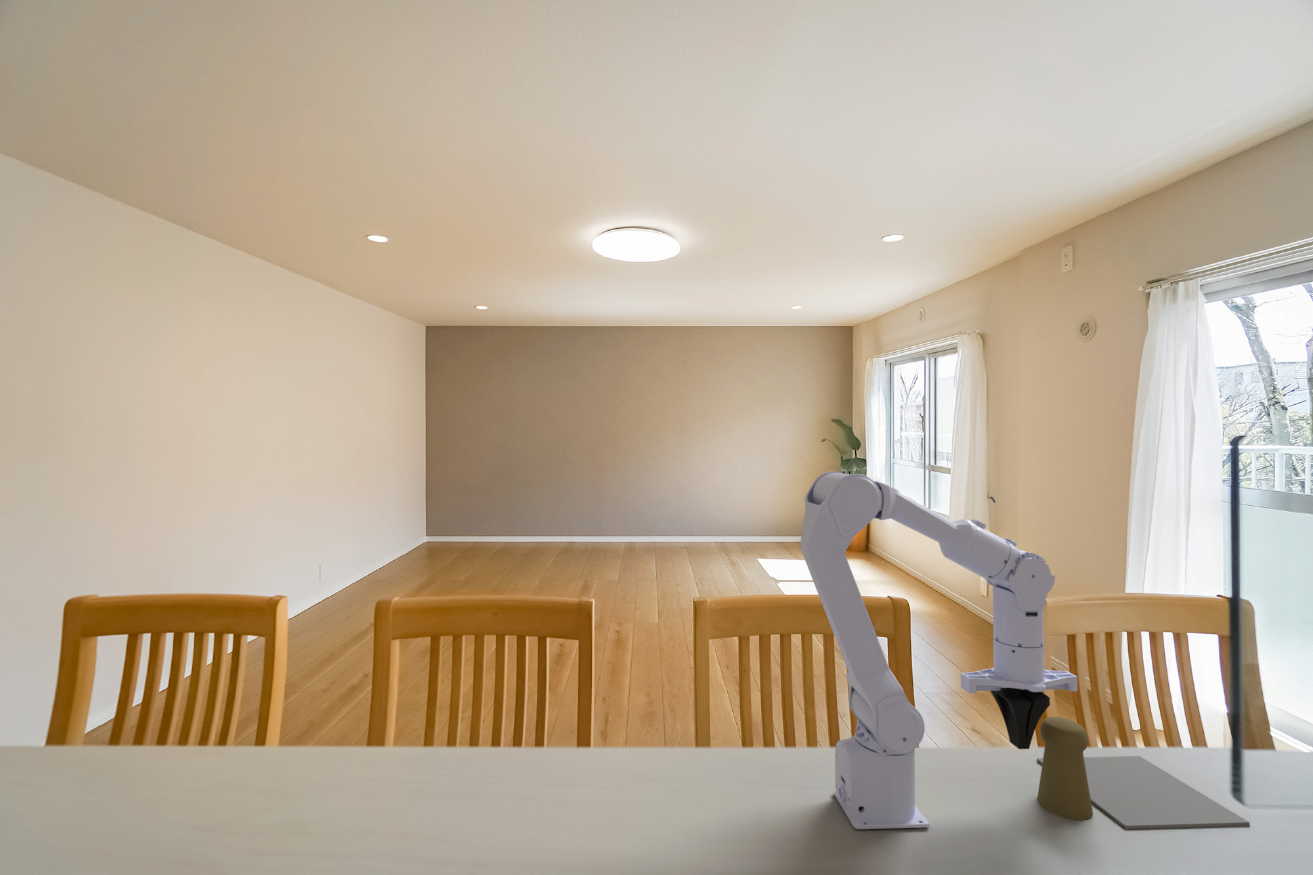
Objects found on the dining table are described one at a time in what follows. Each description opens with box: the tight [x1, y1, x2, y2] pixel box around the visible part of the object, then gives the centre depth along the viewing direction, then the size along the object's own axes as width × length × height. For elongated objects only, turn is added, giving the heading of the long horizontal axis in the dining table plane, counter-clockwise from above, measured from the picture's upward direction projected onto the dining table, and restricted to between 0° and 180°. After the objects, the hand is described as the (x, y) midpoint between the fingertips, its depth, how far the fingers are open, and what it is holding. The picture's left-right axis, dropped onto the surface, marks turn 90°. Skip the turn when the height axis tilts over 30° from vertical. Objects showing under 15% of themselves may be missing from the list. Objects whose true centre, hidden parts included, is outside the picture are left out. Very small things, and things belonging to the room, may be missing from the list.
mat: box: [1036, 755, 1251, 830], centre depth 82 cm, size 16×16×1 cm
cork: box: [1037, 716, 1094, 821], centre depth 78 cm, size 6×6×11 cm
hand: (1019, 745), depth 78 cm, fingers closed
